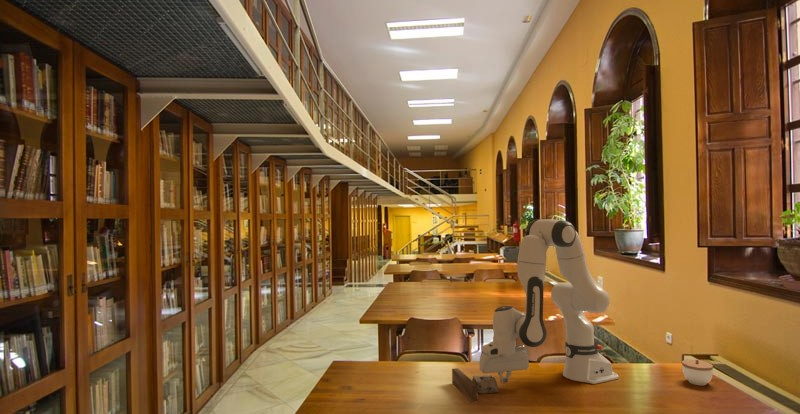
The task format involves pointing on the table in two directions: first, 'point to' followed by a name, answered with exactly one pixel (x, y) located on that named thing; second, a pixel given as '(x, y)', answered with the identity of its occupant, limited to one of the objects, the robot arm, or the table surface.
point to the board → (464, 385)
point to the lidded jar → (697, 371)
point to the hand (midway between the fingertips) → (504, 382)
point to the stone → (485, 384)
